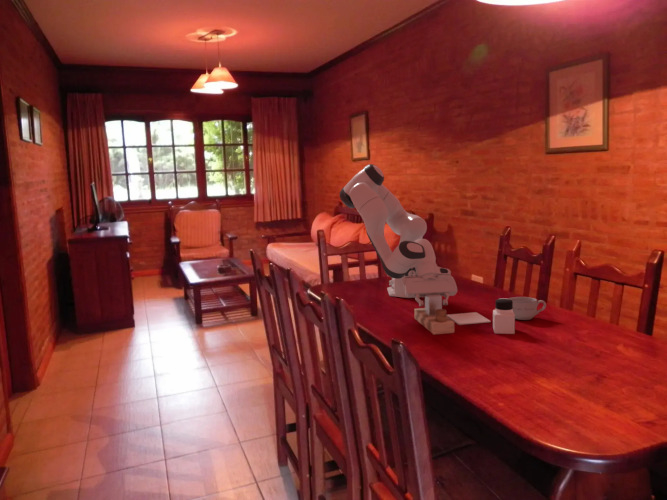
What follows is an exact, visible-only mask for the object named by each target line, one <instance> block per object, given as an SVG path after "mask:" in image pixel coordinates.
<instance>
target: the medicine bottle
mask: <svg viewBox="0 0 667 500" xmlns="http://www.w3.org/2000/svg"><path fill="white" fill-rule="evenodd" d="M494 302H495V306H494V307H495V308H494V309H493V310H492V328H493V333H494V334H501V335H502V334H503V335H504V334H505V335H515V333H516V319H515V314H514V312H513V301H512V300H510V299H509V298H504V297H503V298H498V299H495V301H494Z"/></svg>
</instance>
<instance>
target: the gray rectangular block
mask: <svg viewBox="0 0 667 500" xmlns="http://www.w3.org/2000/svg"><path fill="white" fill-rule="evenodd" d="M424 308H425V314H426V315H427V316H428V317H436V310H437V309H443V296H441V295H439V294H438V293H432V294H425V297H424Z"/></svg>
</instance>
